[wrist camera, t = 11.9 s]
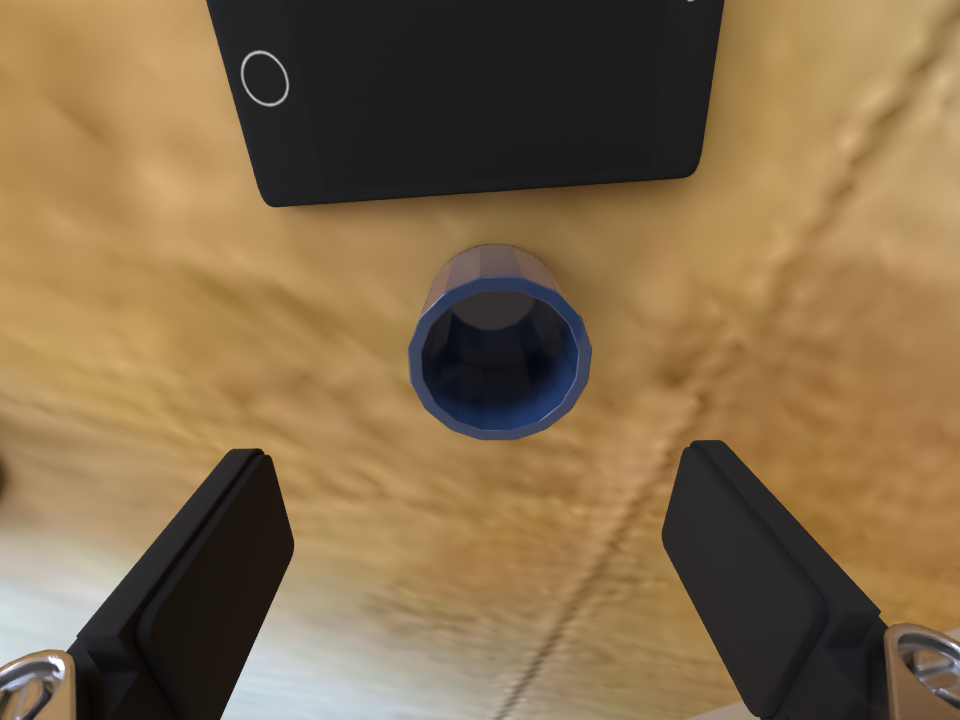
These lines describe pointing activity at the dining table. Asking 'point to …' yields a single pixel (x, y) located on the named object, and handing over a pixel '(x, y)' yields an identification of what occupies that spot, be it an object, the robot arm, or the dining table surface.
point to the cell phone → (465, 93)
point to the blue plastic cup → (498, 346)
